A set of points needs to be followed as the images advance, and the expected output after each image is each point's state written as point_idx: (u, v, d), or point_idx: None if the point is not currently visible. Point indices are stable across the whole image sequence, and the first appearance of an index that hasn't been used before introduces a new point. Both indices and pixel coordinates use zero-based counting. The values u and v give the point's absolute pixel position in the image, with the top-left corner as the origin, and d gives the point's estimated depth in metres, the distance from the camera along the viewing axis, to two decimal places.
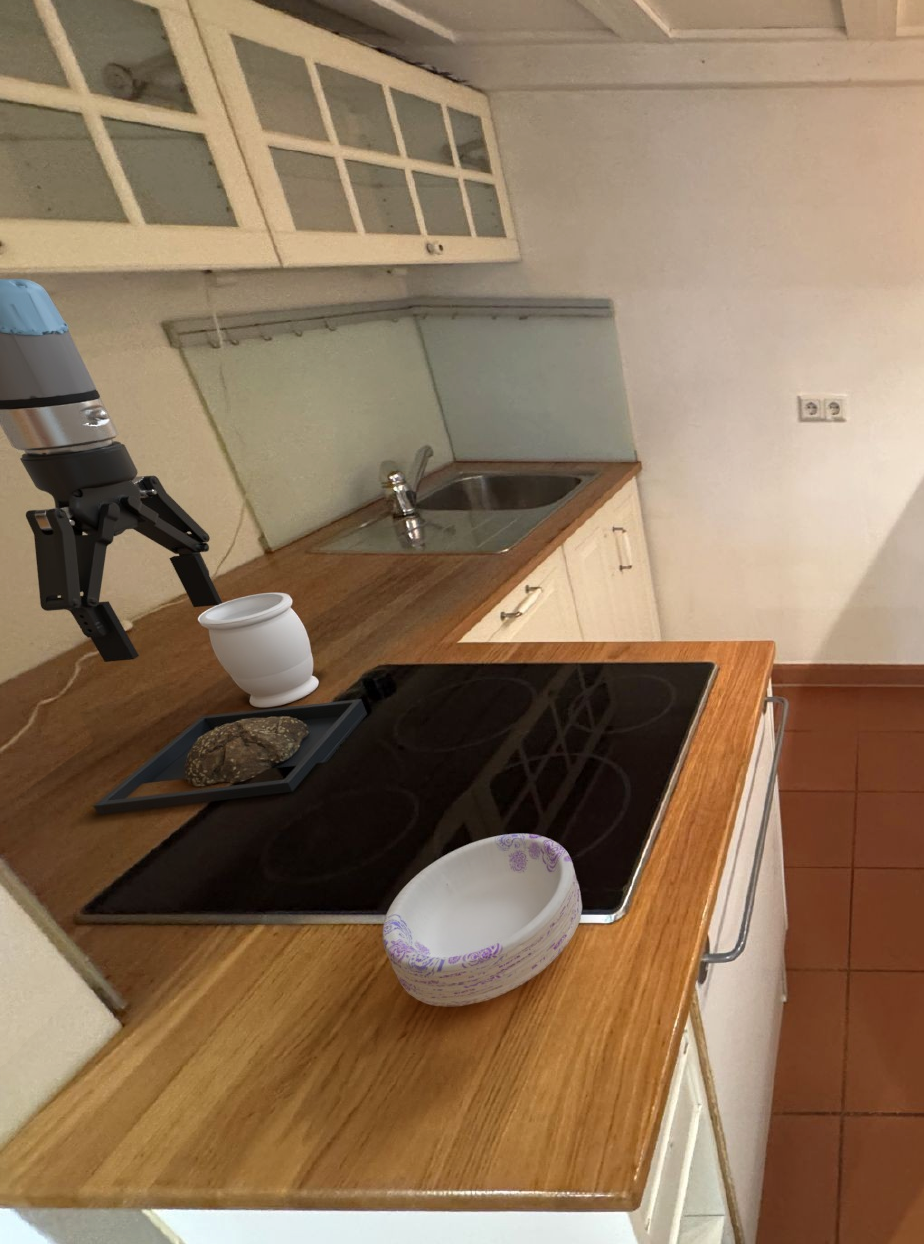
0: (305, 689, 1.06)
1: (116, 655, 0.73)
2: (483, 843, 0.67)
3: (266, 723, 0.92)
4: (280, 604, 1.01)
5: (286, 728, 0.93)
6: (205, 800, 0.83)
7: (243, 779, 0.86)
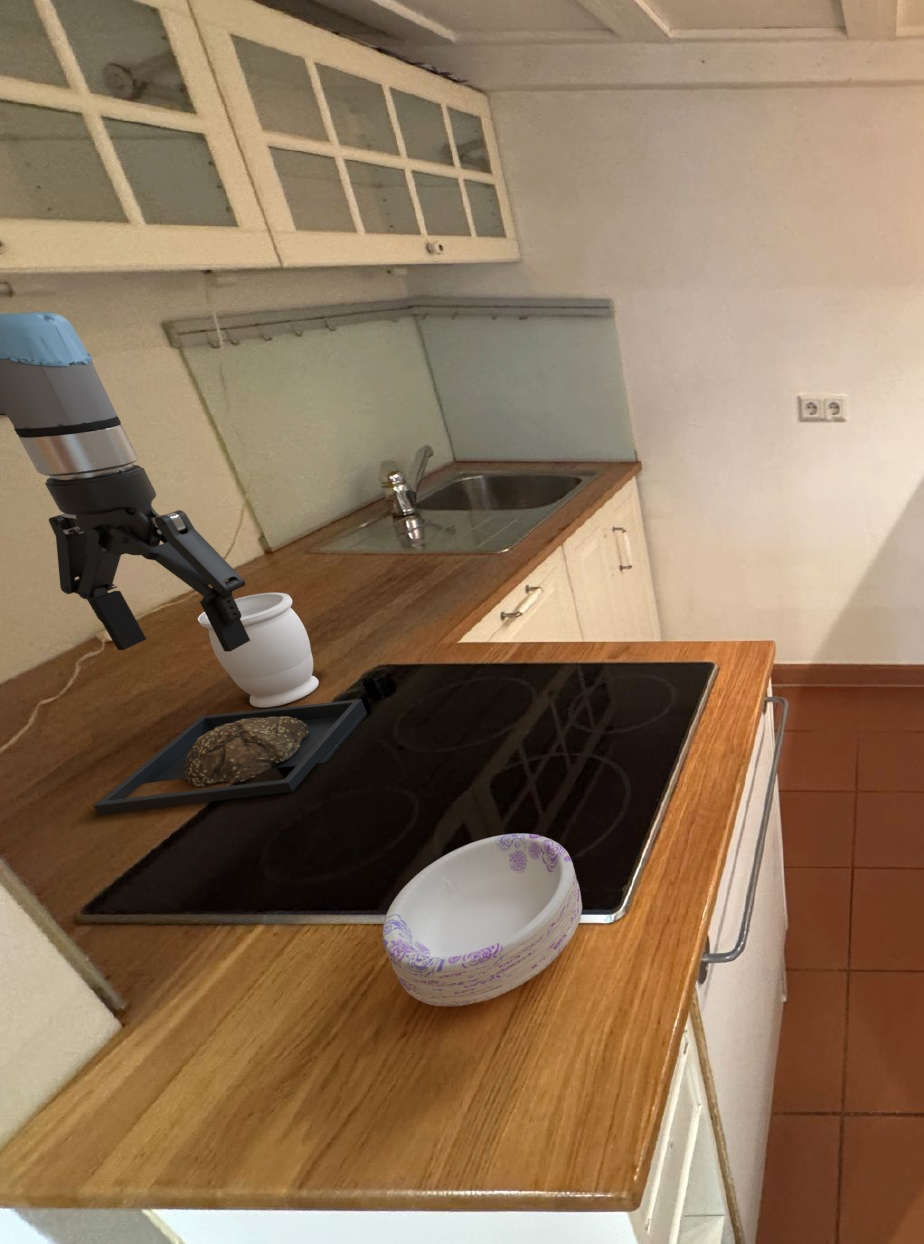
0: (305, 689, 1.06)
1: (238, 641, 0.82)
2: (483, 843, 0.67)
3: (266, 723, 0.92)
4: (280, 604, 1.01)
5: (286, 728, 0.93)
6: (205, 800, 0.83)
7: (243, 779, 0.86)
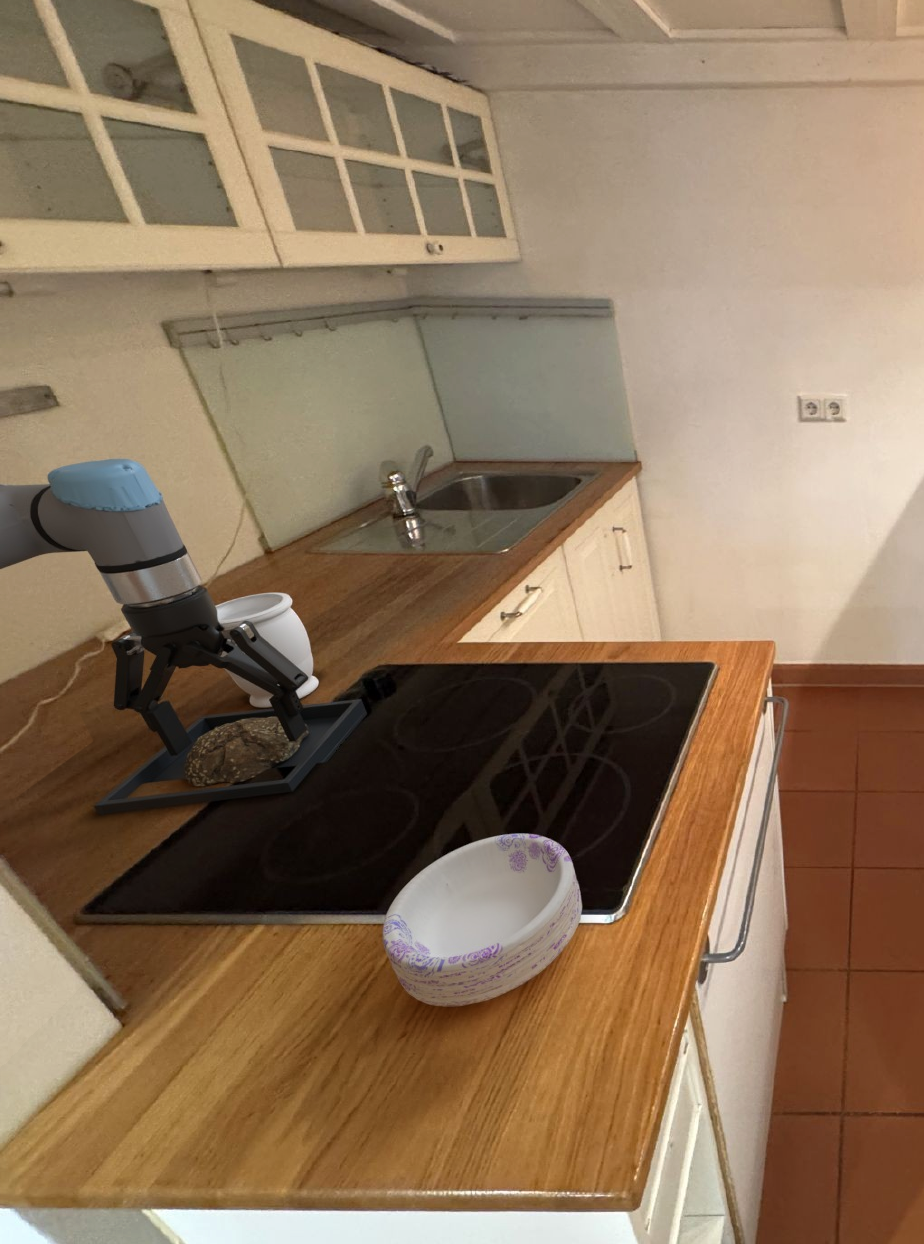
0: (305, 689, 1.06)
1: (299, 730, 0.91)
2: (483, 843, 0.67)
3: (266, 723, 0.92)
4: (280, 604, 1.01)
5: None
6: (205, 800, 0.83)
7: (243, 779, 0.86)
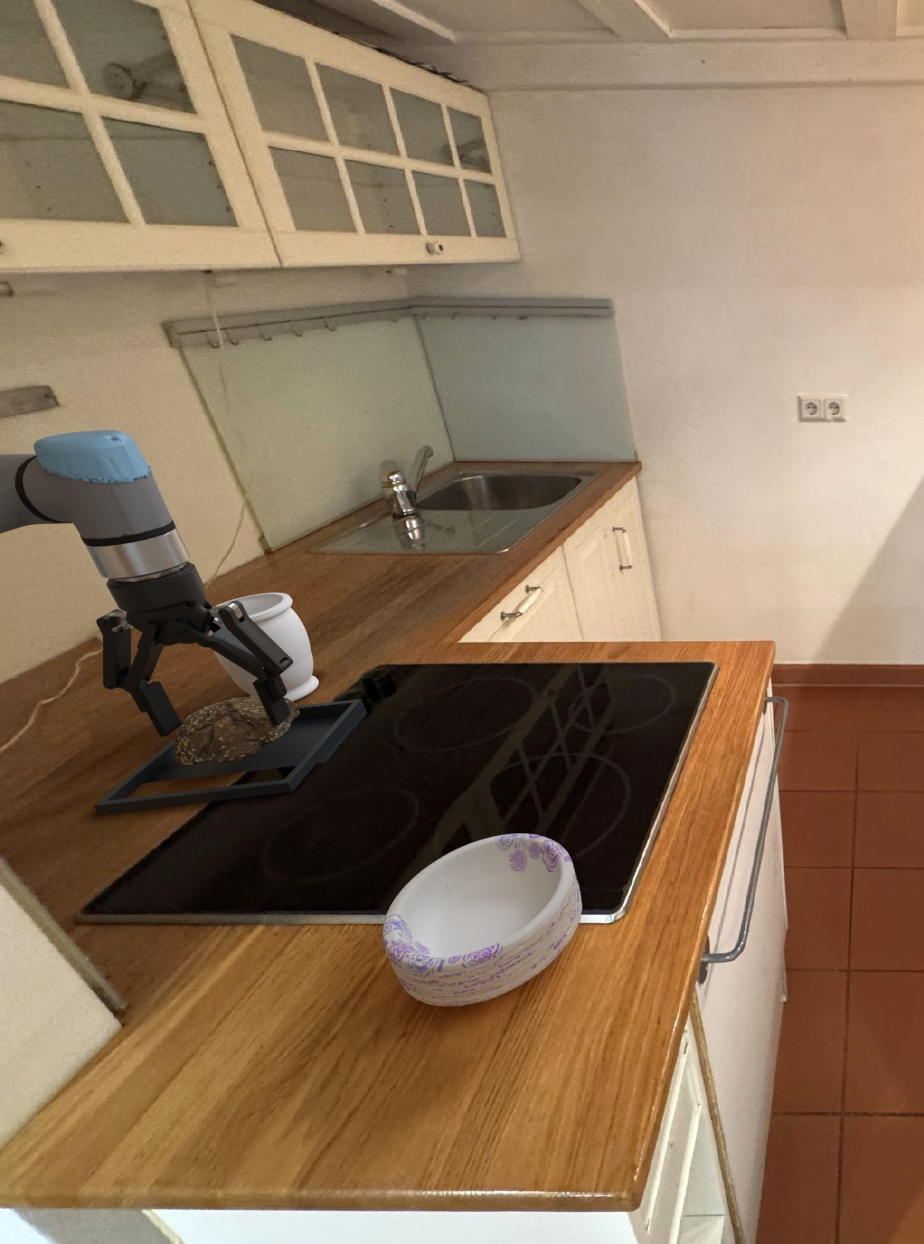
0: (305, 689, 1.06)
1: (283, 715, 0.90)
2: (483, 843, 0.67)
3: (256, 702, 0.91)
4: (280, 604, 1.01)
5: None
6: (205, 800, 0.83)
7: (232, 758, 0.85)
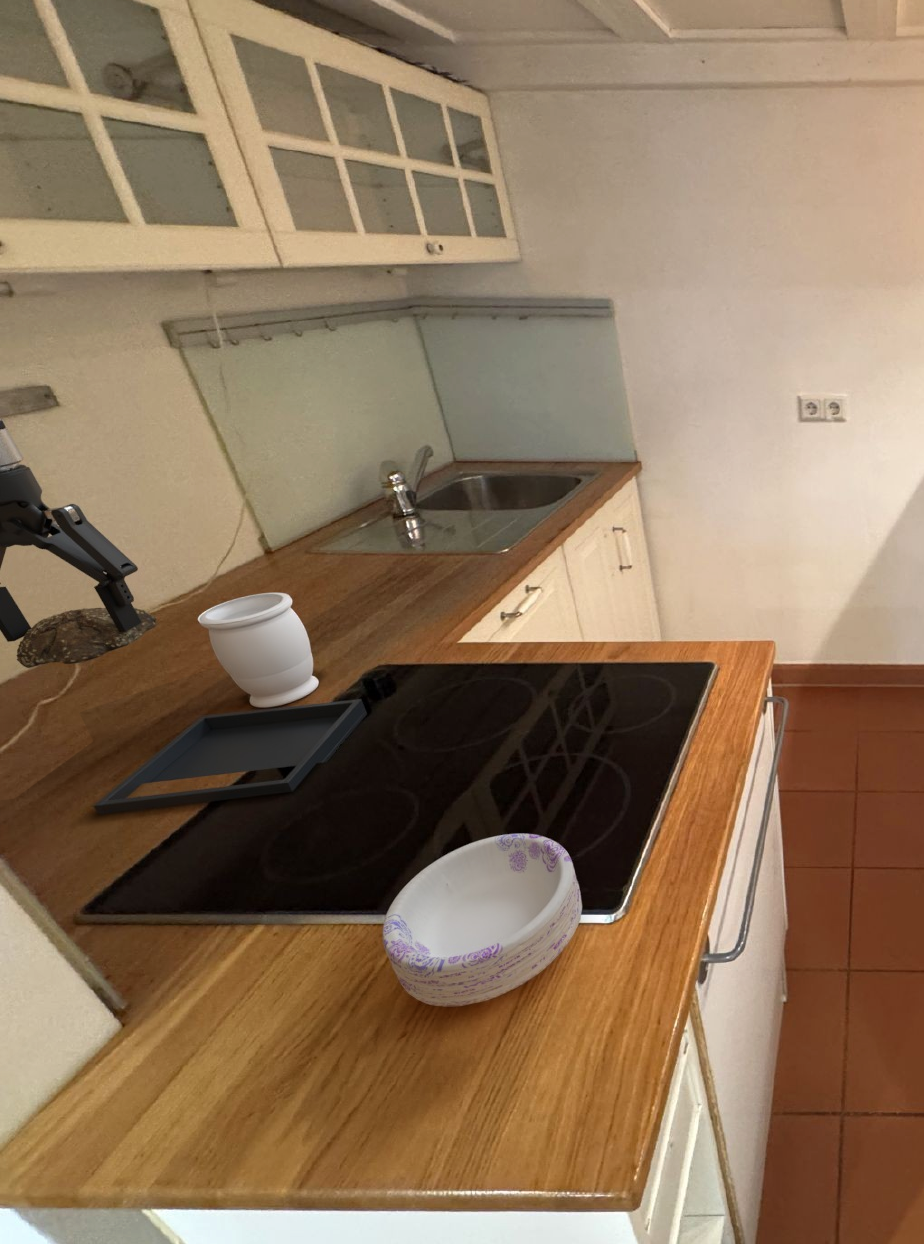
0: (305, 689, 1.06)
1: (131, 622, 0.91)
2: (483, 843, 0.67)
3: None
4: (280, 604, 1.01)
5: None
6: (205, 800, 0.83)
7: (73, 659, 0.87)
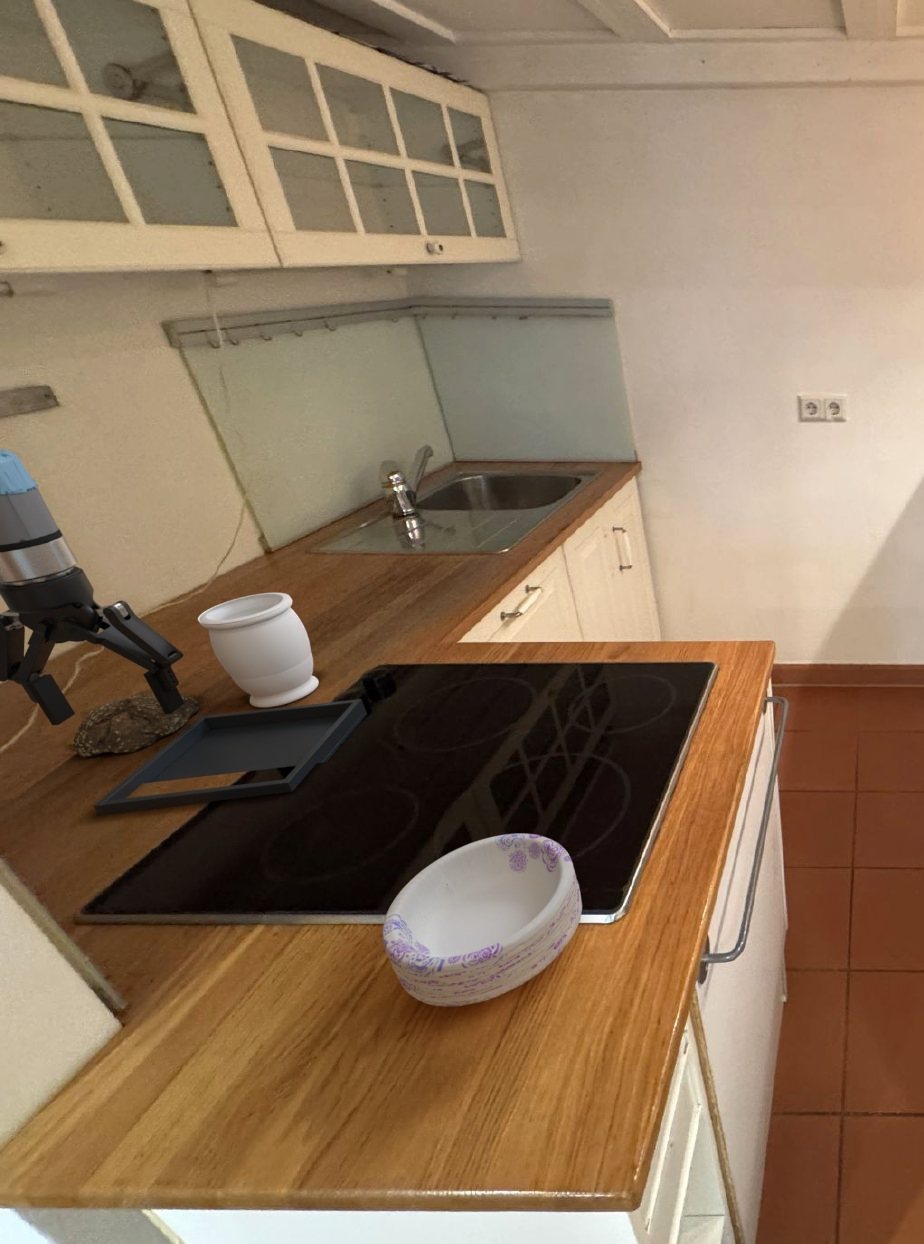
0: (305, 689, 1.06)
1: (176, 704, 0.98)
2: (483, 843, 0.67)
3: (156, 699, 1.00)
4: (280, 604, 1.01)
5: None
6: (205, 800, 0.83)
7: (127, 749, 0.93)
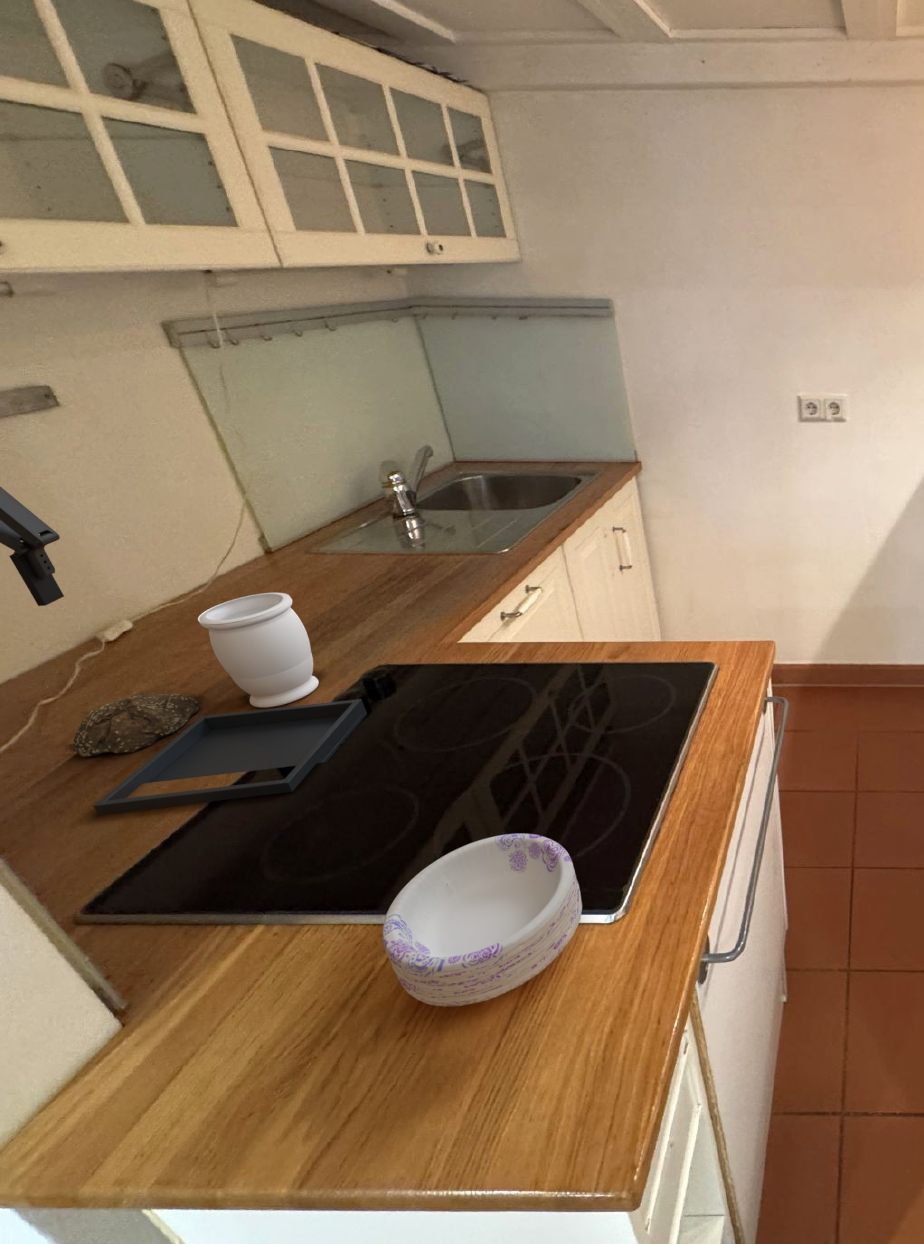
0: (305, 689, 1.06)
1: (52, 596, 0.84)
2: (483, 843, 0.67)
3: (156, 699, 1.00)
4: (280, 604, 1.01)
5: (175, 704, 1.01)
6: (205, 800, 0.83)
7: (127, 749, 0.94)
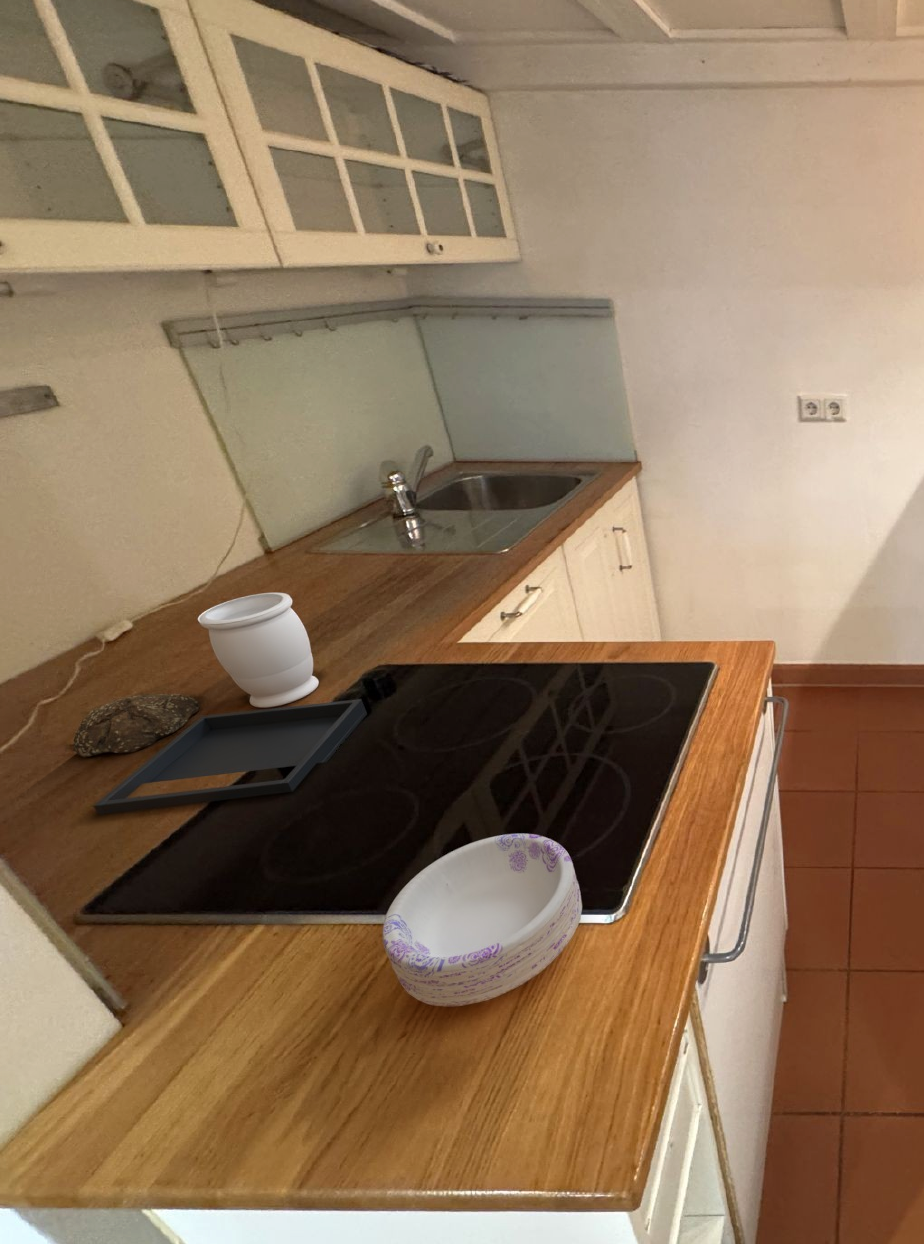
0: (305, 689, 1.06)
1: None
2: (483, 843, 0.67)
3: (156, 699, 1.00)
4: (280, 604, 1.01)
5: (175, 704, 1.01)
6: (205, 800, 0.83)
7: (127, 749, 0.94)
